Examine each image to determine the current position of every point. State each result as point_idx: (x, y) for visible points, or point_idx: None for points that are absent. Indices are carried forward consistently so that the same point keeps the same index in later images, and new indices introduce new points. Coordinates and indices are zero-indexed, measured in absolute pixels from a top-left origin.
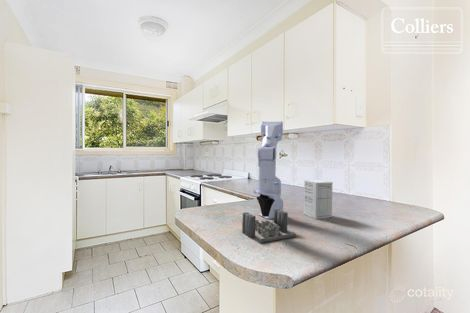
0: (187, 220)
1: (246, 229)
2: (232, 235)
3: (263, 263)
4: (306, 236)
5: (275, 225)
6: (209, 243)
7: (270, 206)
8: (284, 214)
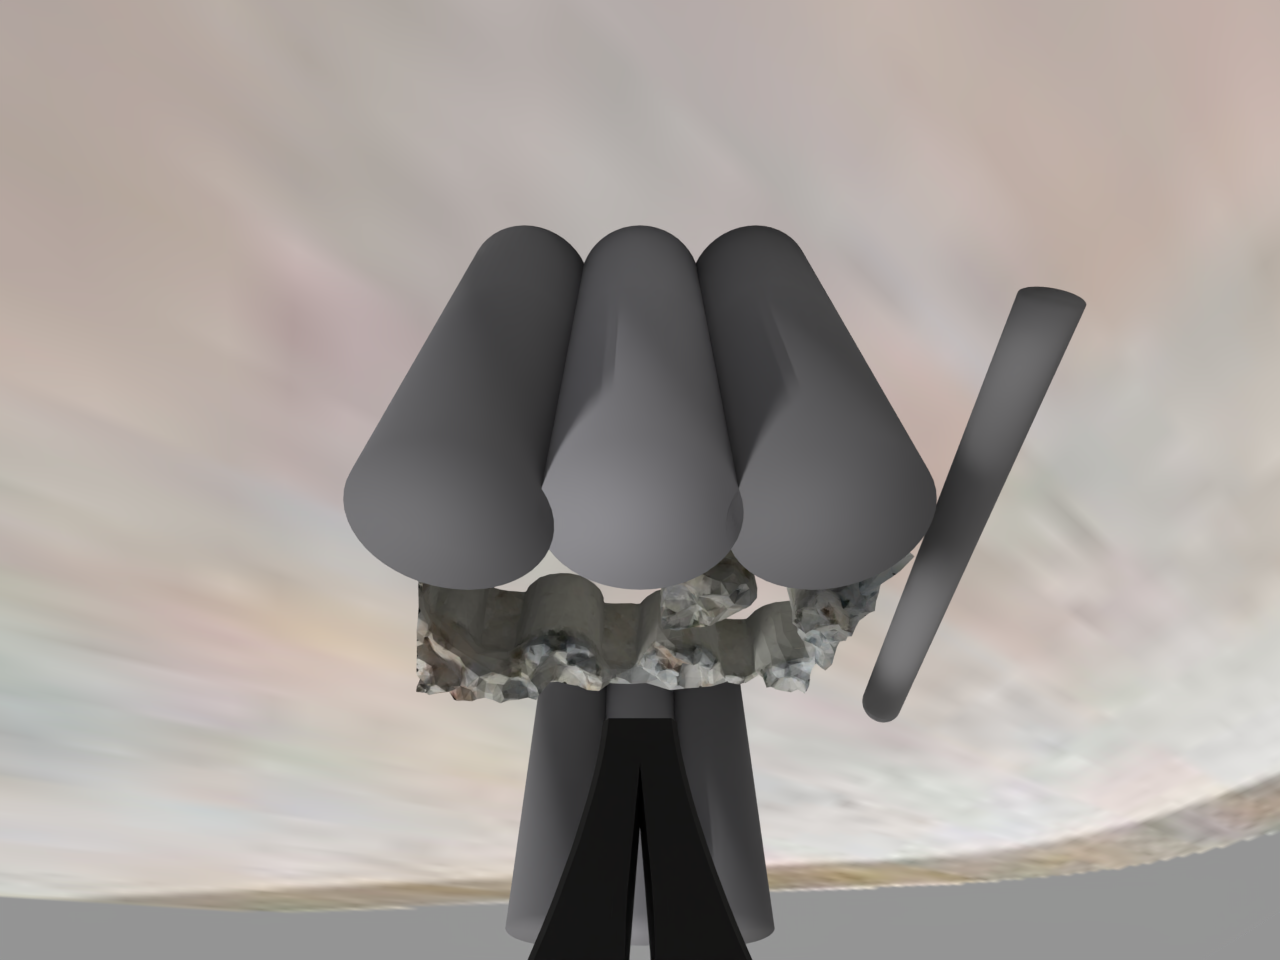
0: (154, 871)
1: None
2: None
3: (1127, 782)
4: (1224, 23)
5: None
6: None
7: (733, 949)
8: (888, 543)
